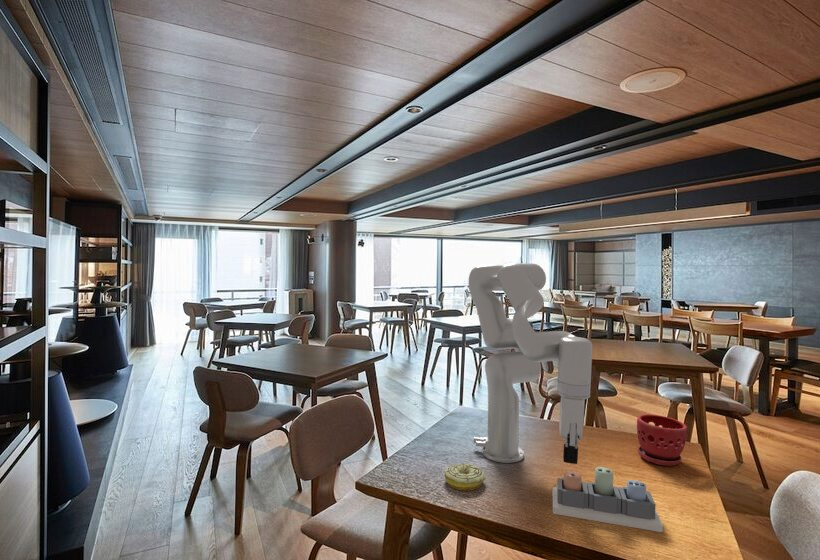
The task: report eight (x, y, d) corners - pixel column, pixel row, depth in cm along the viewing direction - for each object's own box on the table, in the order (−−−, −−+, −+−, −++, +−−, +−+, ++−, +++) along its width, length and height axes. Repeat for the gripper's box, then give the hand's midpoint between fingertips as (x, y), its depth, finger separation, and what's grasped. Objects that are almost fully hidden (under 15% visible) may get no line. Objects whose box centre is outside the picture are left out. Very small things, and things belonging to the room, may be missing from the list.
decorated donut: (492, 482, 117) (492, 468, 117) (469, 498, 109) (469, 483, 109) (460, 469, 124) (460, 456, 124) (437, 483, 116) (437, 469, 116)
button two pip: (595, 494, 102) (595, 472, 102) (593, 486, 106) (594, 465, 105) (614, 497, 100) (614, 475, 100) (611, 488, 104) (612, 467, 104)
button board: (552, 513, 102) (553, 492, 102) (552, 492, 111) (552, 473, 111) (662, 532, 95) (663, 510, 95) (652, 508, 104) (652, 488, 104)
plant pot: (661, 472, 123) (662, 430, 123) (626, 453, 136) (627, 415, 135) (696, 466, 127) (697, 426, 126) (659, 448, 139) (660, 411, 139)
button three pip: (628, 508, 100) (628, 486, 99) (625, 499, 103) (625, 478, 103) (647, 511, 98) (648, 489, 98) (643, 502, 102) (644, 480, 102)
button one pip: (563, 498, 104) (564, 476, 104) (563, 489, 108) (563, 469, 108) (581, 500, 103) (582, 479, 103) (580, 492, 106) (580, 471, 106)
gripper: (556, 378, 113) (553, 446, 114) (557, 396, 99) (554, 473, 100) (587, 381, 111) (584, 451, 112) (593, 400, 96) (589, 479, 98)
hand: (570, 461), depth 106 cm, fingers closed
